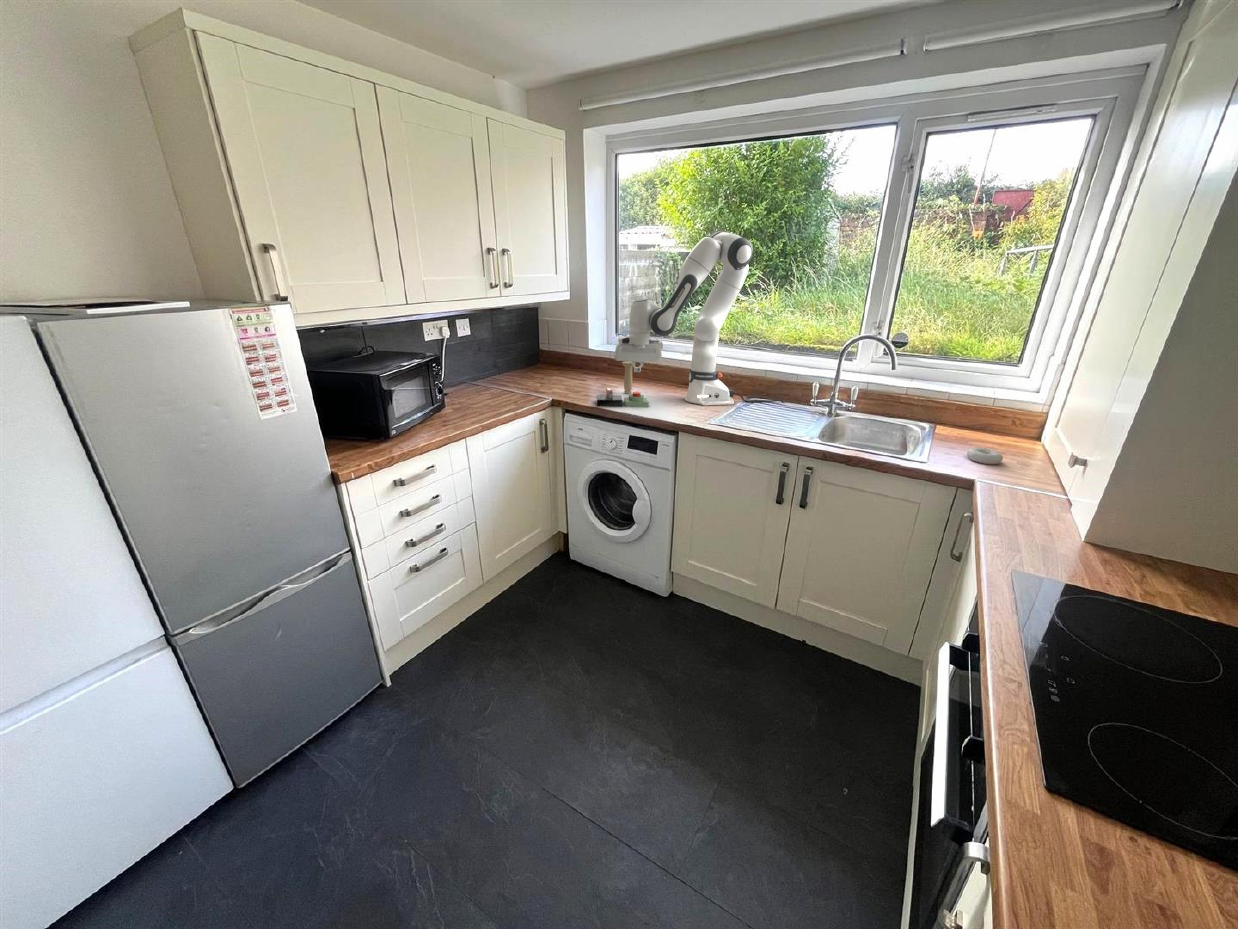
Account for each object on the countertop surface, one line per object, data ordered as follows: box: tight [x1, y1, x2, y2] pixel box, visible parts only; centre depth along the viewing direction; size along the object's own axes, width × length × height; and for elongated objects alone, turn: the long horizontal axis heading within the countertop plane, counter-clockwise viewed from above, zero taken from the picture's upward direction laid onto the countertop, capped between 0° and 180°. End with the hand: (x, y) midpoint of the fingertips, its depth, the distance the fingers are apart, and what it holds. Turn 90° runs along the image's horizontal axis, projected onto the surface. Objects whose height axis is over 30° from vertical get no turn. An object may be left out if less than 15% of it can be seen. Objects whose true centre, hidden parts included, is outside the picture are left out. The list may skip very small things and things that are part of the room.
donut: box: [966, 447, 1004, 465], centre depth 167 cm, size 10×4×10 cm
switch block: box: [623, 393, 649, 408], centre depth 221 cm, size 10×8×4 cm
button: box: [631, 391, 642, 397], centre depth 220 cm, size 4×4×2 cm
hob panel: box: [596, 394, 623, 408], centre depth 220 cm, size 11×10×3 cm
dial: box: [605, 387, 614, 399], centre depth 219 cm, size 6×2×4 cm, turn 13°
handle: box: [621, 361, 637, 395], centre depth 238 cm, size 5×6×15 cm
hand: (637, 371), depth 216 cm, fingers closed
